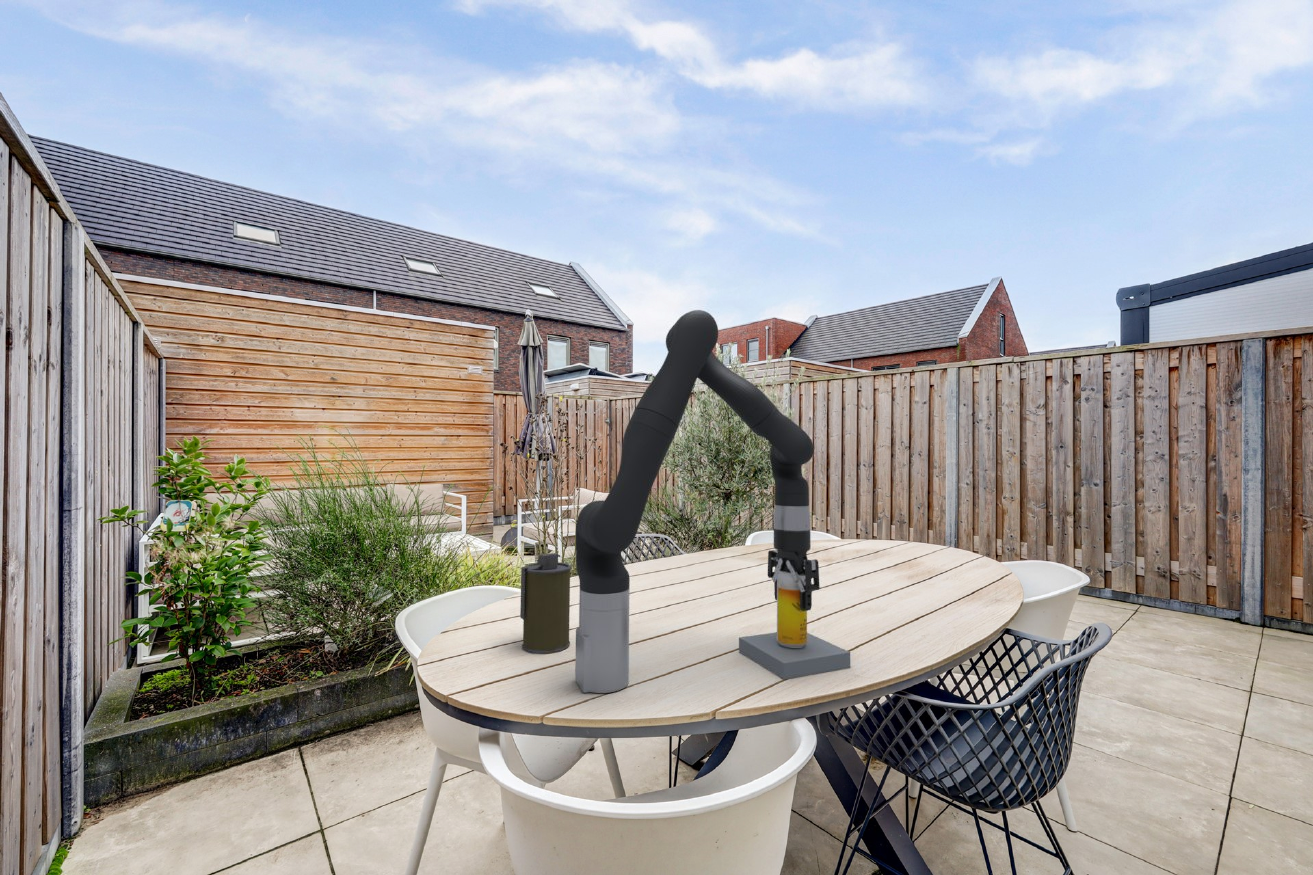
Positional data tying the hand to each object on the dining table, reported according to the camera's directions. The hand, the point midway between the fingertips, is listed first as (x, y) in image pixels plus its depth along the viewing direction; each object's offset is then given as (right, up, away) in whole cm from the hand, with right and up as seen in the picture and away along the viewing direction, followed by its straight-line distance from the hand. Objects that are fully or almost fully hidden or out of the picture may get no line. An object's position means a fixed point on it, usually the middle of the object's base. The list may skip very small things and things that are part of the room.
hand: (792, 605), depth 111 cm
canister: (-53, -11, +6) cm, 55 cm away
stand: (0, -11, -1) cm, 11 cm away
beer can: (0, -8, -1) cm, 8 cm away
